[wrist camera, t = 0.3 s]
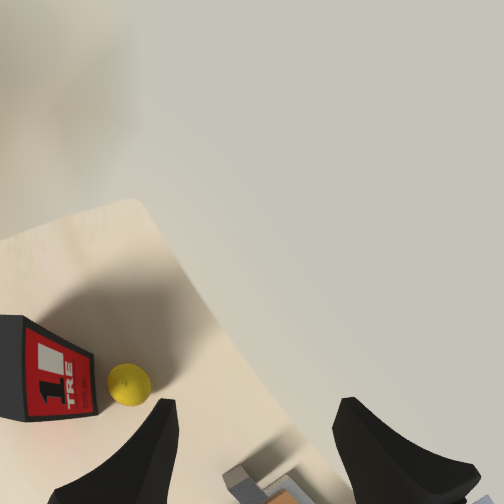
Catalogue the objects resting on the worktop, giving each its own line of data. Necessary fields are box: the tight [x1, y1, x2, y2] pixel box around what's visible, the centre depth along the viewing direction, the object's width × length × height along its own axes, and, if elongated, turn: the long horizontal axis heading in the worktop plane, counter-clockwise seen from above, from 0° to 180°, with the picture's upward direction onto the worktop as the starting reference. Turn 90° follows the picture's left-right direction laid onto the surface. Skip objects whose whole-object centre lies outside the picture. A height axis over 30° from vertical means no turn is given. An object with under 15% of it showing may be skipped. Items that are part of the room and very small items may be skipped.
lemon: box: [107, 363, 151, 406], centre depth 31 cm, size 6×6×8 cm
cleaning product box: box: [0, 315, 98, 422], centre depth 23 cm, size 16×9×20 cm, turn 99°
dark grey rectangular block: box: [222, 464, 269, 504], centre depth 28 cm, size 4×3×7 cm
